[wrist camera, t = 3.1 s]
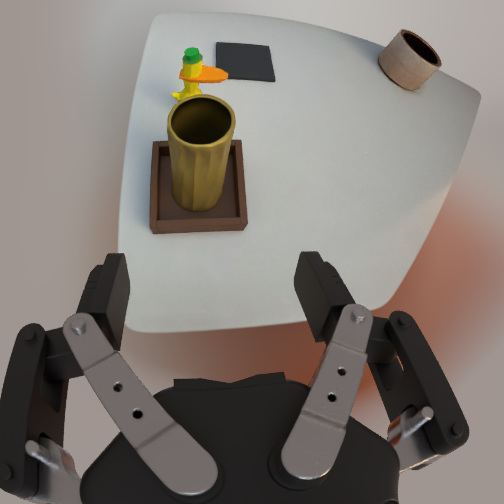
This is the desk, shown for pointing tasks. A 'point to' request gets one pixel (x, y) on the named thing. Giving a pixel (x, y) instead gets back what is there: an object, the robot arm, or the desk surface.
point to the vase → (199, 149)
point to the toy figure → (197, 74)
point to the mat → (245, 61)
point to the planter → (409, 60)
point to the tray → (182, 221)
